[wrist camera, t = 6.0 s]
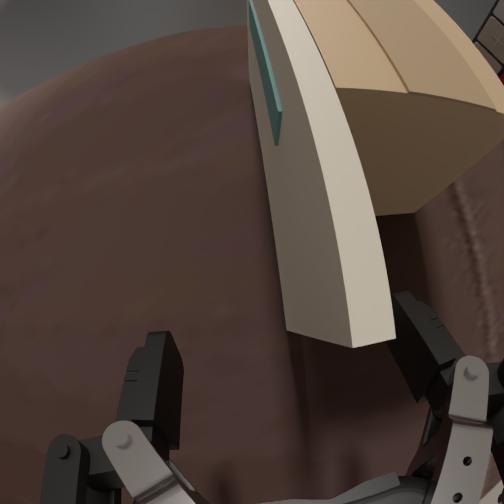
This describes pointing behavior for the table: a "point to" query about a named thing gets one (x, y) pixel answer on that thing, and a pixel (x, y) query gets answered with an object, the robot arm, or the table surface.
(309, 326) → the flap
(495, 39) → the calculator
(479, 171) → the table surface
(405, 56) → the carton
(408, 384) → the robot arm
